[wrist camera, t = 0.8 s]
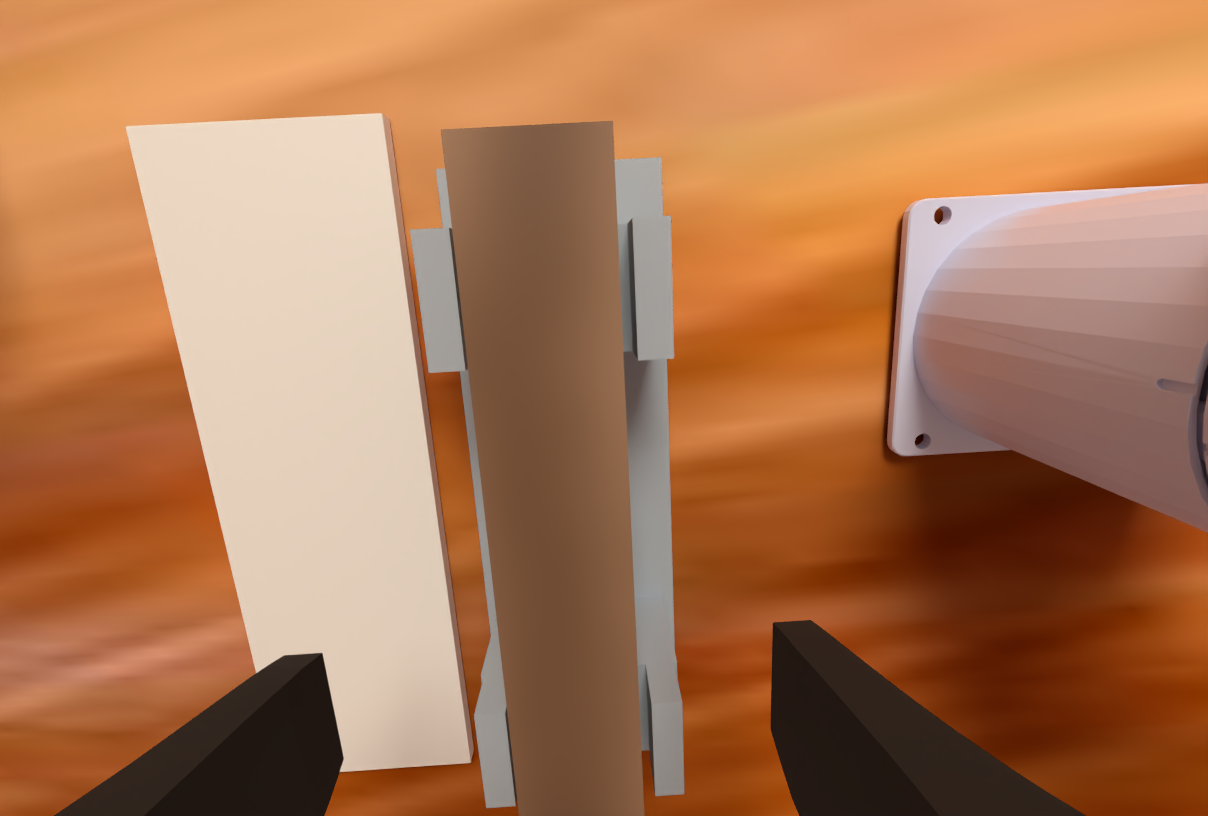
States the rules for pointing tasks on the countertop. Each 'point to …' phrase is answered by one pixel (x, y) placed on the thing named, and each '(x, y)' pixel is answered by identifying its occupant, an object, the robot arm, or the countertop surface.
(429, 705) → the mat
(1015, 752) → the countertop surface
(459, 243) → the rail
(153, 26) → the countertop surface
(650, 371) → the rack
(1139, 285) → the robot arm
